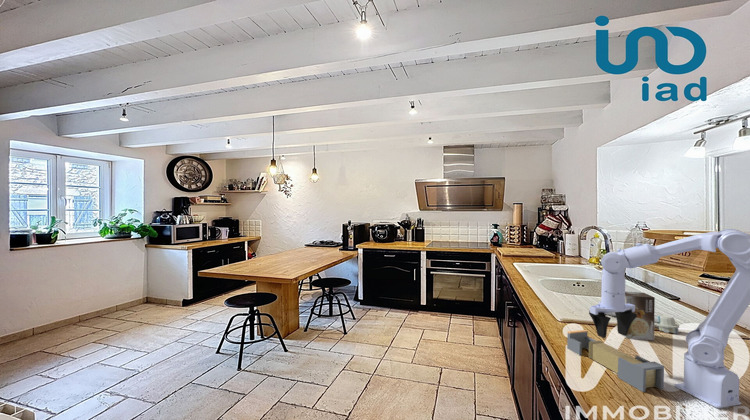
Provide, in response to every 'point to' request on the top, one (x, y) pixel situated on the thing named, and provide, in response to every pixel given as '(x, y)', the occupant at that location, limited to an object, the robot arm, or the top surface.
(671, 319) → the pale grey bumpy piece
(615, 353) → the tan rectangular post
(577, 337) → the socket
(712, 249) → the robot arm
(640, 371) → the sleeve
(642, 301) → the coffee box
